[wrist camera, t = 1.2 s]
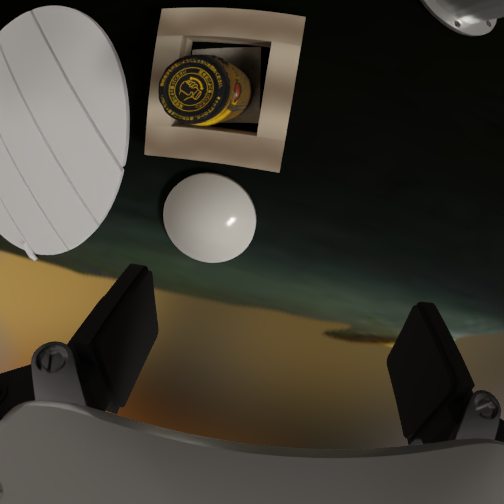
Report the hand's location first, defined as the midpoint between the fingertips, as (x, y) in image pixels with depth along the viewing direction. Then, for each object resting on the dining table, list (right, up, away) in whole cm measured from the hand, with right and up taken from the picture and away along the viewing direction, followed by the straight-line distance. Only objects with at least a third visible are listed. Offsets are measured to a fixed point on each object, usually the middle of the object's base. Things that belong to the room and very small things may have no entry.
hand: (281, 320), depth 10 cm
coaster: (-6, +6, +26) cm, 27 cm away
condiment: (-4, +20, +18) cm, 27 cm away
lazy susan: (-35, +20, +23) cm, 46 cm away
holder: (-4, +20, +18) cm, 27 cm away
